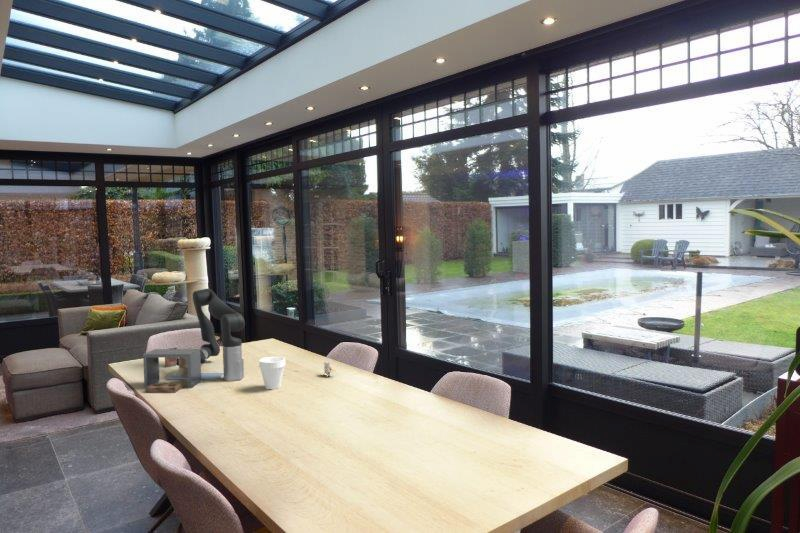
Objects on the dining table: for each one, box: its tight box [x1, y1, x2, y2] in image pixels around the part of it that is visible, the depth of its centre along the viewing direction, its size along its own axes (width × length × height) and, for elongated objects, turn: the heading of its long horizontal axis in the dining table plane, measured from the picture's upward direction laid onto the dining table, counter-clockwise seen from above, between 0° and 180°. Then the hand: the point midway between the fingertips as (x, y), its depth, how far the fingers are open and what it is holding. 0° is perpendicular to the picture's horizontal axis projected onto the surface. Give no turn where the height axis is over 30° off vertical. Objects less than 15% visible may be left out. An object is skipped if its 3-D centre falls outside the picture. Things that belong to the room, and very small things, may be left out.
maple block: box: [178, 357, 188, 378], centre depth 290 cm, size 4×4×11 cm
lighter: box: [164, 347, 179, 368], centre depth 316 cm, size 8×3×10 cm, turn 143°
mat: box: [165, 372, 224, 381], centre depth 291 cm, size 26×12×1 cm, turn 87°
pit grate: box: [145, 382, 183, 394], centre depth 266 cm, size 14×7×2 cm, turn 87°
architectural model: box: [323, 361, 336, 376], centre depth 289 cm, size 3×7×7 cm, turn 28°
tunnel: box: [142, 348, 202, 389], centre depth 276 cm, size 23×12×16 cm, turn 87°
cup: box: [258, 356, 286, 390], centre depth 268 cm, size 12×12×14 cm
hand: (185, 363), depth 291 cm, fingers open, 8 cm apart
